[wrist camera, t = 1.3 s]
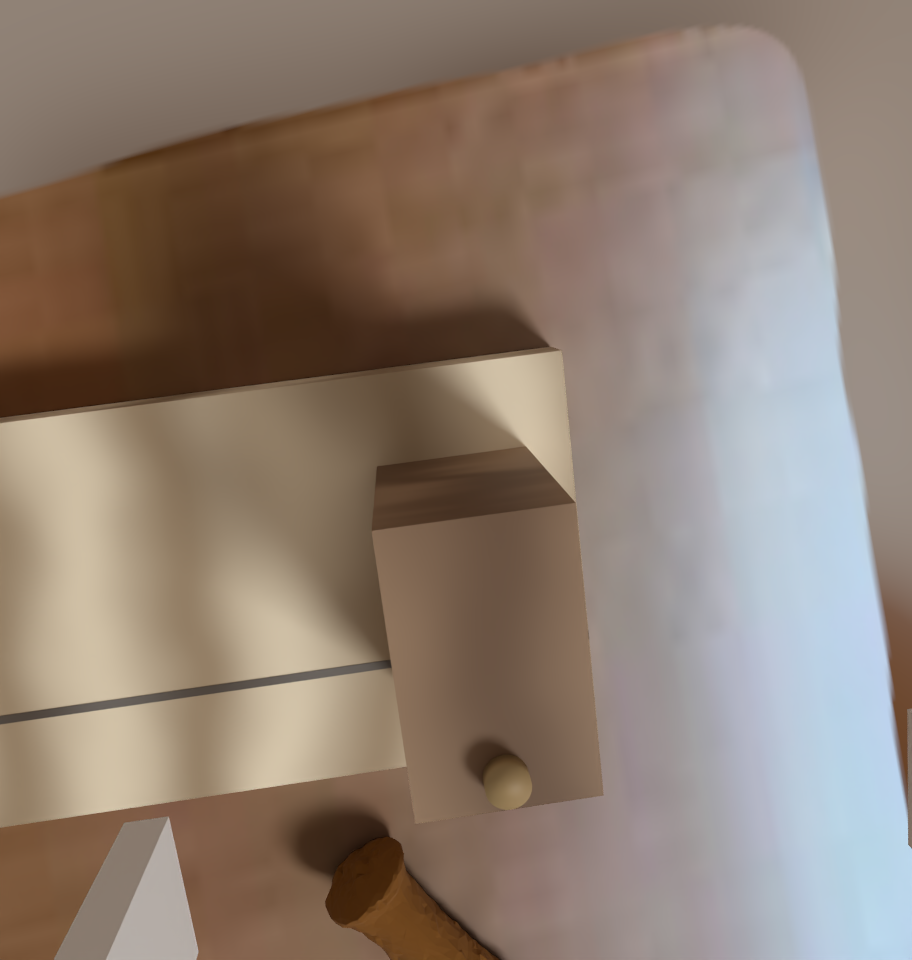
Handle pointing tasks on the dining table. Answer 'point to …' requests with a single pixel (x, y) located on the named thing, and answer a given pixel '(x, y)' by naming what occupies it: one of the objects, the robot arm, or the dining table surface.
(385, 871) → the primitive tool
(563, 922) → the dining table surface
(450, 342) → the dining table surface
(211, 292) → the dining table surface
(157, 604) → the board
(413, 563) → the beige drawer
